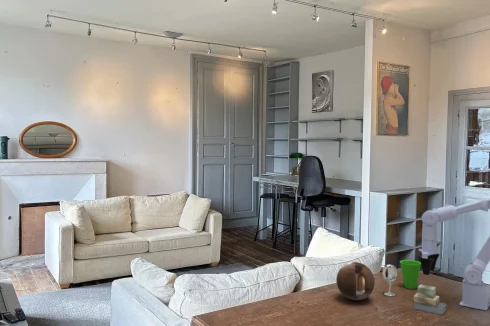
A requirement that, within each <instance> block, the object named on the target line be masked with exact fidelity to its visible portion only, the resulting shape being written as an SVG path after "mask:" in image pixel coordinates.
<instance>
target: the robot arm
mask: <svg viewBox="0 0 490 326" xmlns="http://www.w3.org/2000/svg"><path fill="white" fill-rule="evenodd" d="M478 210H479V211H483V212H487V213H488V212H489V210H490V197H486V198H482V199H477V200H475V201H472V202H467V203H465V204H461V205H457V206H454V205H452V204H450V205H449V204H448V203H447V204H444V205H443V206H441V207H439V208H436V207H434V208H432V209H431V210H430V209H428V210H426V211H425V212H424V213H422V214H421V215H422V216H421V222H422V224H421V225H422V226H421V227H422V228H421V248H418V251H419V252H421V255H420V256H418V262H420V263H421V266H420V267H421V269H422V274H423V275H425V276H430V273H431V272H434V271H435V269H436V264H437V261H438V258H439V257H440V253H438V228H437V227H438V226H437V223H439V224H440V223H444V222H448V221H451V220H455V219H457V218H458V216H459V215H462V214H466V213H470V212H475V211H478ZM489 263H490V235H489V236H488V238H487V239H486V241H485V242H484V244H483V245H482V247H481V249H480V250H479V251H478V253H477V254H476V256H475V257H474V259H473V260H472V261H471V262H470V263H468V264H466V265H465V266H464V267H465V268H464V272H463V278H462V292H461V293H462V295H461V296H462V297H461V299H462V300H461V301H460V303H459V306H462V307H467V308H472V309H477V310H481V311H482V310H483V311H488V309H489V307H490V285H489V284H485V283H484V281H483V280H482V279H483V273H484V272H485V270H486V268H487V266H488V264H489Z"/></svg>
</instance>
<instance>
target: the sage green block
mask: <svg viewBox="0 0 490 326" xmlns="http://www.w3.org/2000/svg"><path fill="white" fill-rule="evenodd" d="M436 289H437V287H436V286H431V285H426V284H419V285H417V292H416V293H415V294H414V295H413V301H414V302H421V303H426V304H431V305H436V304H437V303H438V302H440V295H437V293H436Z"/></svg>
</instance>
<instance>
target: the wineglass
mask: <svg viewBox="0 0 490 326" xmlns="http://www.w3.org/2000/svg"><path fill="white" fill-rule="evenodd" d="M397 277H398V270H397V266H396V265H394V264H385V265H384V266H383V268H382V278H383V279H384V280H386V281H387V282H388V292H384V293H383V295H385V296H387V297H395V296H396V294H395V293H393V292H391V286H392V283H391V282H394V281H396V280H397Z"/></svg>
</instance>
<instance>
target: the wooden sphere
mask: <svg viewBox="0 0 490 326" xmlns="http://www.w3.org/2000/svg"><path fill="white" fill-rule="evenodd" d="M335 280H336V281H335V282H336V286H337V288H338V290H339V292H340V293H341V294H342V295H343V296H344V297H345V298H346V299H348V300H351V301H362V300H365V299H366V298H368V297H370V295H371V294H372V293H373V291H374V289H375V277H374V273H373V272H372V270H371V269H370V268H369V267H368V266H367V265H365V264H364V263H361V262H357V261H352V262H351V261H350V262H348V263H346V264H343V265H342V266H341V267H340V268H339V270H338V271H337V274H336V279H335Z"/></svg>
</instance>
